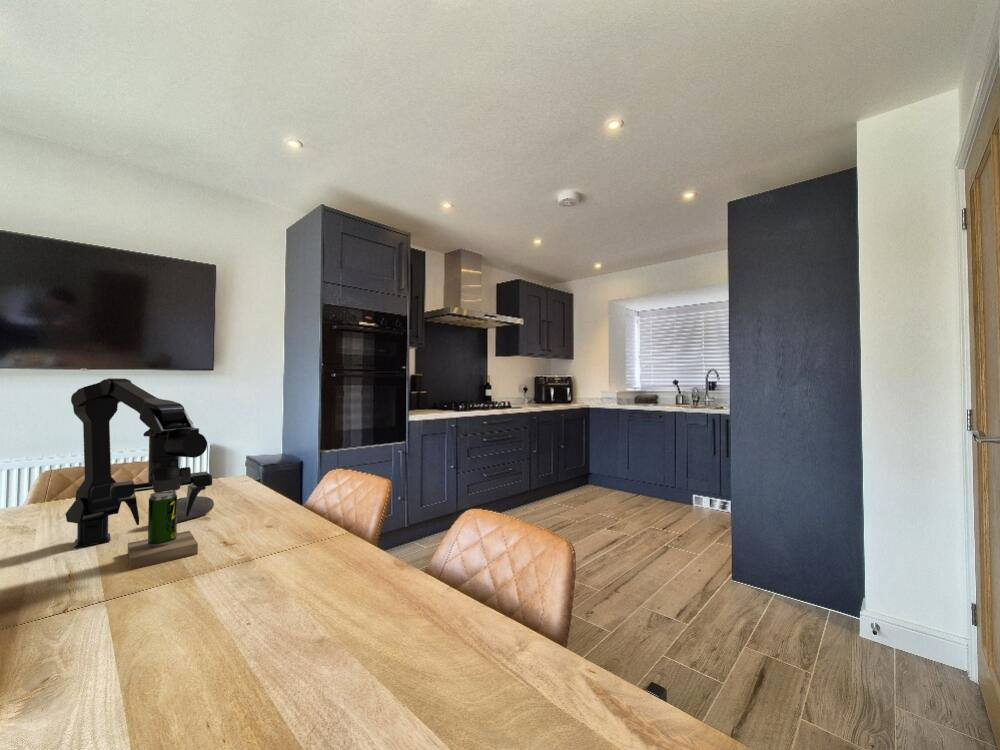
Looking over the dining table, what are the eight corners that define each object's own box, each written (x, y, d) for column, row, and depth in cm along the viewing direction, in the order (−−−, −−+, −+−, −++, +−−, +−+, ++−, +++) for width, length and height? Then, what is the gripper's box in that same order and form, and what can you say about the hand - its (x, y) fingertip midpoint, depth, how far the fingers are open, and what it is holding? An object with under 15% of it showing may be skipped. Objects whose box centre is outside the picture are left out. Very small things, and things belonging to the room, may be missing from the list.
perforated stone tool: (210, 511, 133) (210, 490, 133) (217, 514, 130) (218, 492, 130) (151, 525, 120) (151, 501, 120) (158, 529, 117) (159, 504, 117)
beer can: (146, 549, 96) (147, 497, 97) (149, 542, 101) (150, 492, 101) (175, 544, 99) (176, 493, 100) (177, 537, 104) (177, 489, 104)
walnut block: (127, 553, 100) (127, 543, 100) (189, 540, 108) (189, 530, 108) (131, 569, 91) (131, 558, 91) (197, 553, 100) (197, 543, 100)
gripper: (112, 465, 88) (111, 539, 88) (217, 454, 101) (216, 519, 101) (110, 458, 96) (109, 526, 96) (208, 449, 109) (207, 509, 109)
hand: (163, 520), depth 100 cm, fingers open, 9 cm apart
